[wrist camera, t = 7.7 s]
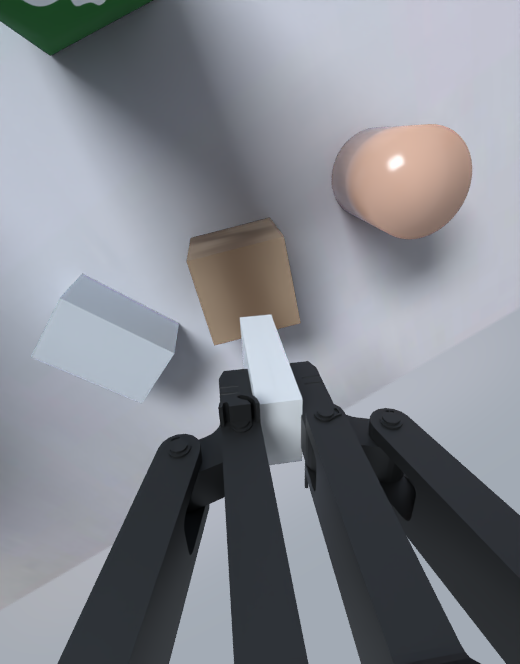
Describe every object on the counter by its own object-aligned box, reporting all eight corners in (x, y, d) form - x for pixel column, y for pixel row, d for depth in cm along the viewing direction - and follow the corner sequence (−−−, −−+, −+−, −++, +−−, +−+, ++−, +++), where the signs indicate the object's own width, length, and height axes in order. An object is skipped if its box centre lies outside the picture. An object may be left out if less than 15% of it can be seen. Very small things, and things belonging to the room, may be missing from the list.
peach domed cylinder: (329, 220, 28) (364, 242, 22) (333, 129, 25) (373, 127, 19) (405, 214, 29) (459, 235, 23) (417, 125, 26) (483, 121, 20)
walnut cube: (213, 309, 31) (214, 345, 25) (190, 237, 28) (186, 261, 22) (284, 290, 31) (300, 323, 25) (269, 217, 28) (283, 236, 22)
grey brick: (57, 324, 30) (30, 357, 25) (83, 272, 28) (60, 298, 24) (150, 367, 32) (141, 403, 28) (179, 322, 31) (174, 353, 26)
